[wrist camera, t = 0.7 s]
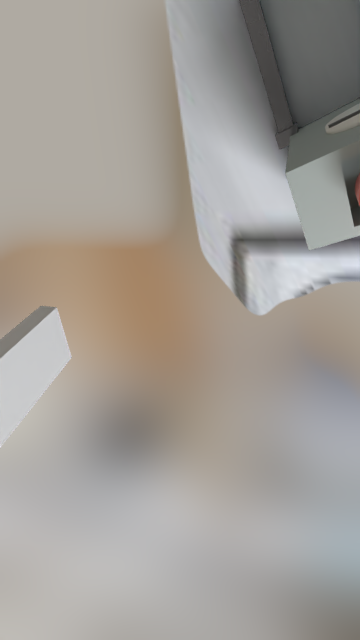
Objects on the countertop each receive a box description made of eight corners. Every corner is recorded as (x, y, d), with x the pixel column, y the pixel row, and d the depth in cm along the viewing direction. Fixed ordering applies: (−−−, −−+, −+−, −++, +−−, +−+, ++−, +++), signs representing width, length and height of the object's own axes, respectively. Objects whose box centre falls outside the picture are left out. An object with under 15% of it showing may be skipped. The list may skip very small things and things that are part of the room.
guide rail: (225, -145, 18) (222, -154, 17) (300, 136, 26) (300, 139, 25) (200, -116, 19) (195, -124, 18) (280, 146, 27) (279, 149, 26)
